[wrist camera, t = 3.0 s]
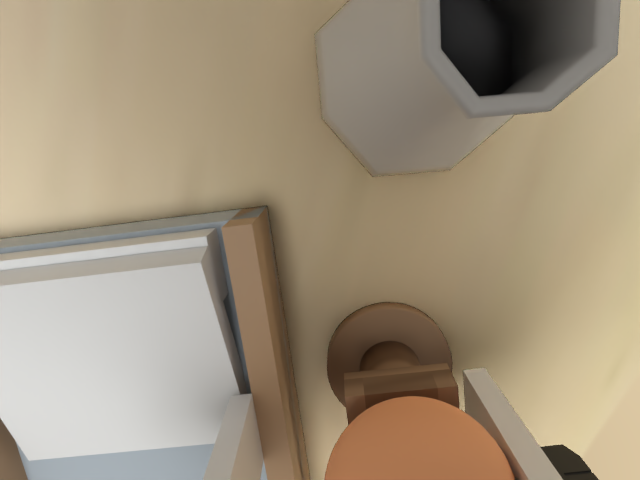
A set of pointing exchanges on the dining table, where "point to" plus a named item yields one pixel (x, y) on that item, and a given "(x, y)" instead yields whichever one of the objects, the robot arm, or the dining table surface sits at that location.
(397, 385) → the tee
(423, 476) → the ball
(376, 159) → the flask
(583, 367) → the dining table surface
